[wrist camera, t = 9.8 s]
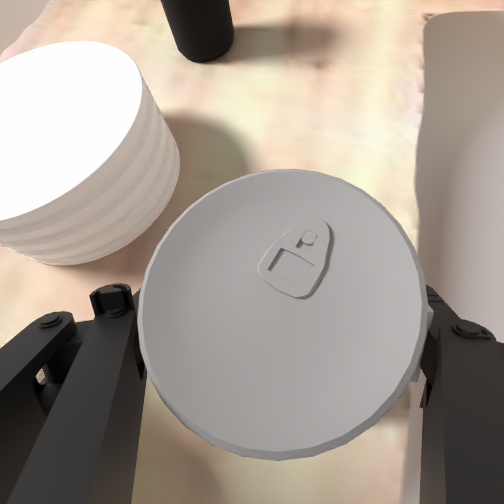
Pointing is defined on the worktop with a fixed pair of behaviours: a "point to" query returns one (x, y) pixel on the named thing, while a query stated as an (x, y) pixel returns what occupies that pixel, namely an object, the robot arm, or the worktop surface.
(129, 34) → the worktop surface
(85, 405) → the robot arm
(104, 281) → the worktop surface
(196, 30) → the coffee jar
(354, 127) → the worktop surface
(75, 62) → the plate stack
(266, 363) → the canned food
